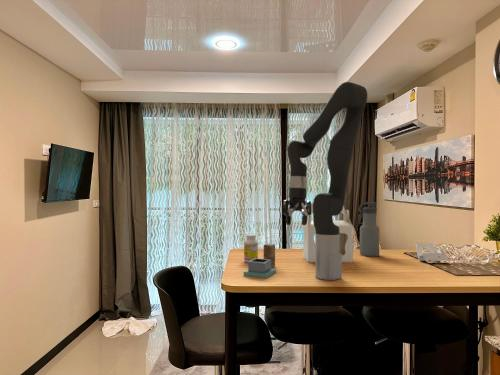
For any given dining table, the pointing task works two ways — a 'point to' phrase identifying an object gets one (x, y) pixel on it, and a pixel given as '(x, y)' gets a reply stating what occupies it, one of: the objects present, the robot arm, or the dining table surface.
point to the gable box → (344, 237)
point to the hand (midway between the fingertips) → (296, 224)
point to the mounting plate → (261, 275)
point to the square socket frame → (259, 265)
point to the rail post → (270, 253)
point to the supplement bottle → (250, 247)
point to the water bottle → (369, 230)
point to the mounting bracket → (430, 256)
